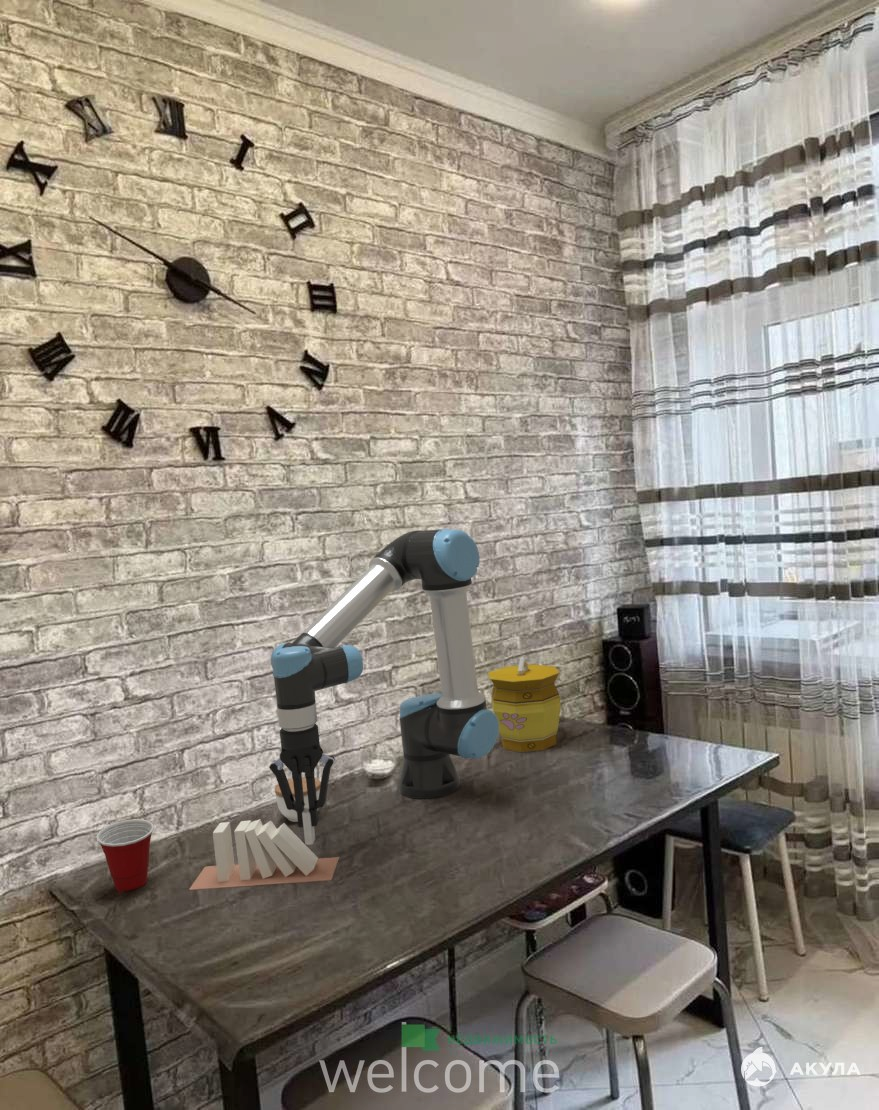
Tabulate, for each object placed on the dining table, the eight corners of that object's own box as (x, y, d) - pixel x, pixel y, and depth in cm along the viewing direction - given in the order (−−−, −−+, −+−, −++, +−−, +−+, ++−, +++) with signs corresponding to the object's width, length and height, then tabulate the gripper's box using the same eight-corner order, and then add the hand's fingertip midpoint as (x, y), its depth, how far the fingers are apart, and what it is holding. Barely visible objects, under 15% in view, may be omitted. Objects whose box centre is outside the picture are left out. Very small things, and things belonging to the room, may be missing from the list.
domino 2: (256, 867, 169) (250, 820, 168) (250, 879, 164) (244, 830, 163) (247, 868, 169) (241, 821, 168) (240, 880, 164) (234, 831, 163)
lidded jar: (268, 823, 194) (264, 784, 193) (296, 806, 203) (293, 768, 203) (305, 828, 189) (301, 788, 188) (332, 810, 198) (328, 772, 198)
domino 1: (235, 869, 169) (229, 822, 168) (228, 881, 164) (222, 832, 163) (225, 870, 169) (220, 822, 168) (218, 881, 164) (212, 832, 163)
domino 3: (277, 864, 169) (260, 819, 168) (272, 875, 164) (253, 829, 163) (268, 867, 169) (251, 822, 168) (262, 878, 164) (244, 832, 163)
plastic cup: (113, 906, 159) (105, 846, 158) (95, 888, 167) (88, 831, 166) (168, 886, 166) (162, 827, 165) (149, 869, 174) (142, 814, 173)
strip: (339, 859, 171) (339, 857, 171) (331, 882, 161) (331, 879, 161) (205, 869, 172) (205, 866, 172) (189, 892, 162) (189, 889, 162)
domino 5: (318, 858, 168) (283, 822, 168) (313, 869, 163) (278, 832, 163) (311, 864, 168) (276, 829, 168) (306, 875, 163) (271, 839, 163)
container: (572, 733, 243) (566, 648, 241) (556, 756, 223) (549, 665, 221) (503, 731, 250) (497, 649, 248) (482, 754, 231) (474, 665, 229)
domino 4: (298, 860, 168) (270, 820, 168) (293, 871, 163) (265, 830, 163) (290, 865, 169) (262, 825, 168) (285, 877, 164) (256, 835, 163)
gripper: (334, 718, 167) (345, 831, 169) (270, 723, 168) (282, 836, 169) (328, 728, 160) (339, 847, 161) (261, 733, 160) (273, 852, 162)
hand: (310, 841), depth 165 cm, fingers closed
